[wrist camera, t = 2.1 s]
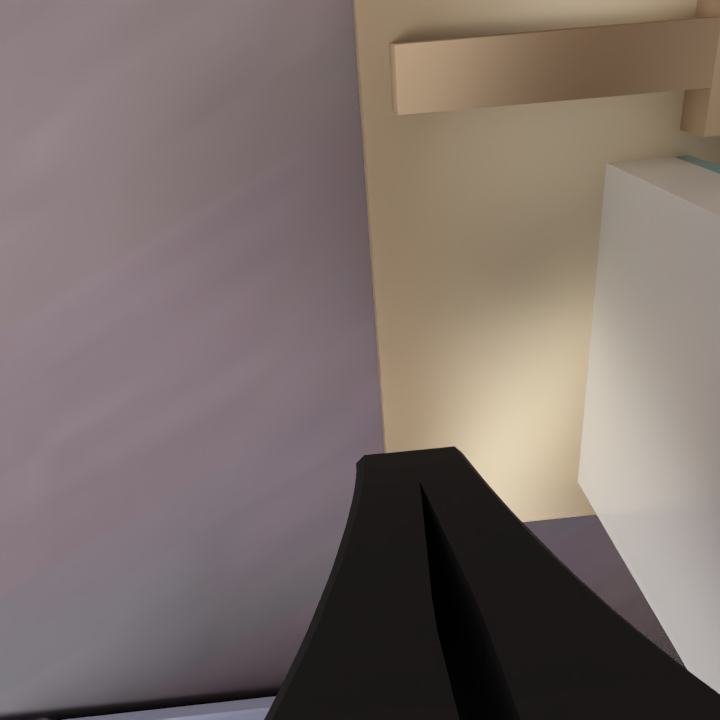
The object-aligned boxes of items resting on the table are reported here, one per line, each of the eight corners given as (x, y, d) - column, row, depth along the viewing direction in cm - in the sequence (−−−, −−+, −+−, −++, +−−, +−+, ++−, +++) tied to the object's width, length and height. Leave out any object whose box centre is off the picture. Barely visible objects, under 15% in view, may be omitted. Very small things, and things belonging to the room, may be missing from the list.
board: (389, 518, 16) (391, 535, 15) (351, -9, 11) (354, -11, 10) (922, 463, 16) (942, 478, 16) (1122, -73, 11) (1163, -78, 11)
